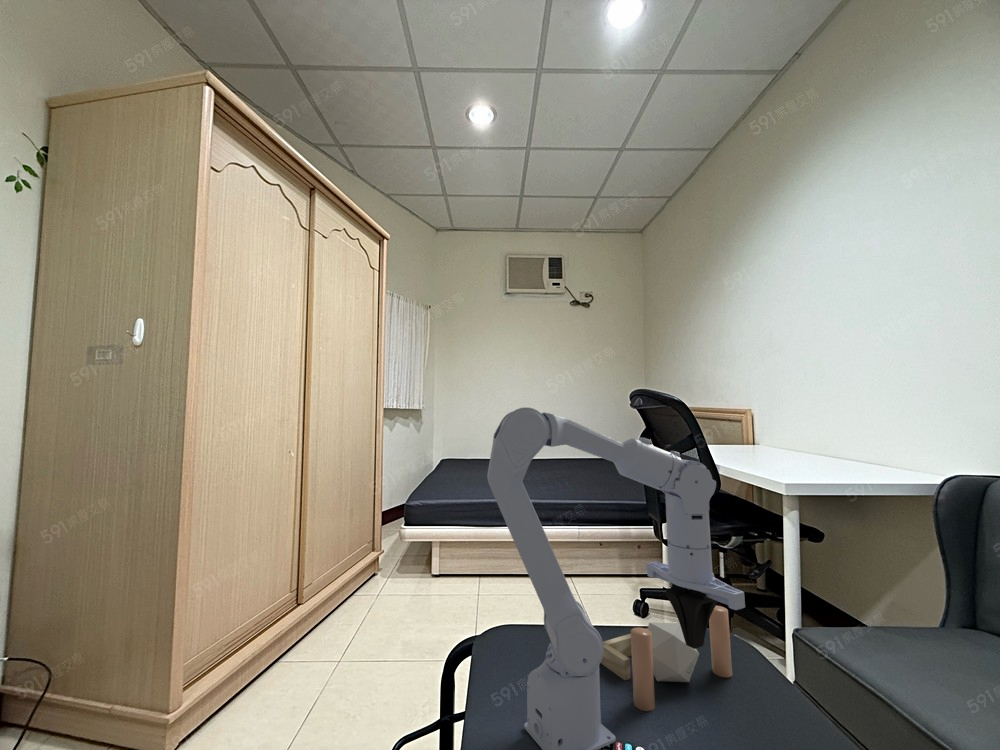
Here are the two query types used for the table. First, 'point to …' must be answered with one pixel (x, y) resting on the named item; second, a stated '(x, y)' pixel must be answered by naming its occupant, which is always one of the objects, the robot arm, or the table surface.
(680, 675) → the die
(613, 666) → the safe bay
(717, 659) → the trap post far
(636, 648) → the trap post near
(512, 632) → the table surface
